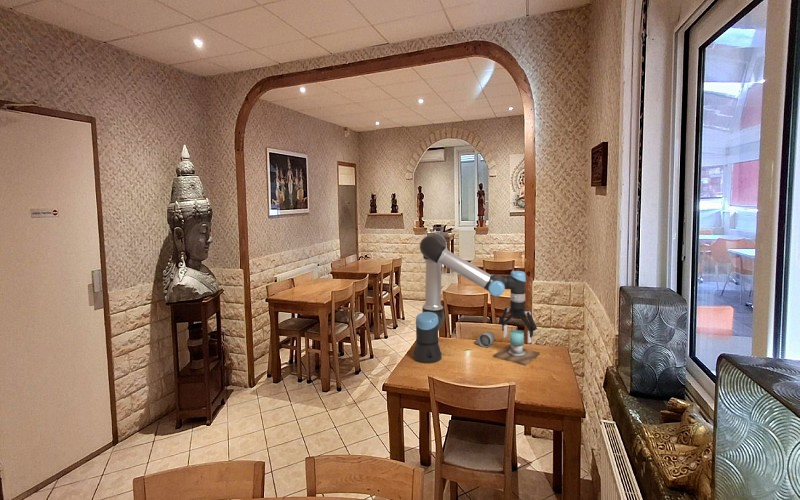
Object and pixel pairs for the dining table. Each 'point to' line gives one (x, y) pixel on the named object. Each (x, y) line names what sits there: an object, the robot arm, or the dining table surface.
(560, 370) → the dining table surface
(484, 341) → the ceramic mug
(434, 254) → the robot arm
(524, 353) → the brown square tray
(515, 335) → the turquoise round jar
